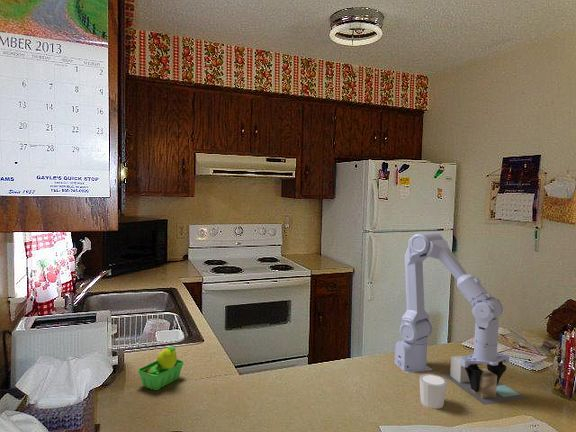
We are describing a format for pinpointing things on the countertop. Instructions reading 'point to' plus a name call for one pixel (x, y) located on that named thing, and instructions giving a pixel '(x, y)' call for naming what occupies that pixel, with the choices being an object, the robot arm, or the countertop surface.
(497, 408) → the countertop surface
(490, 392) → the maple block
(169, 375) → the fruit basket
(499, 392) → the mat
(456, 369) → the grey block
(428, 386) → the white tapered cylinder
